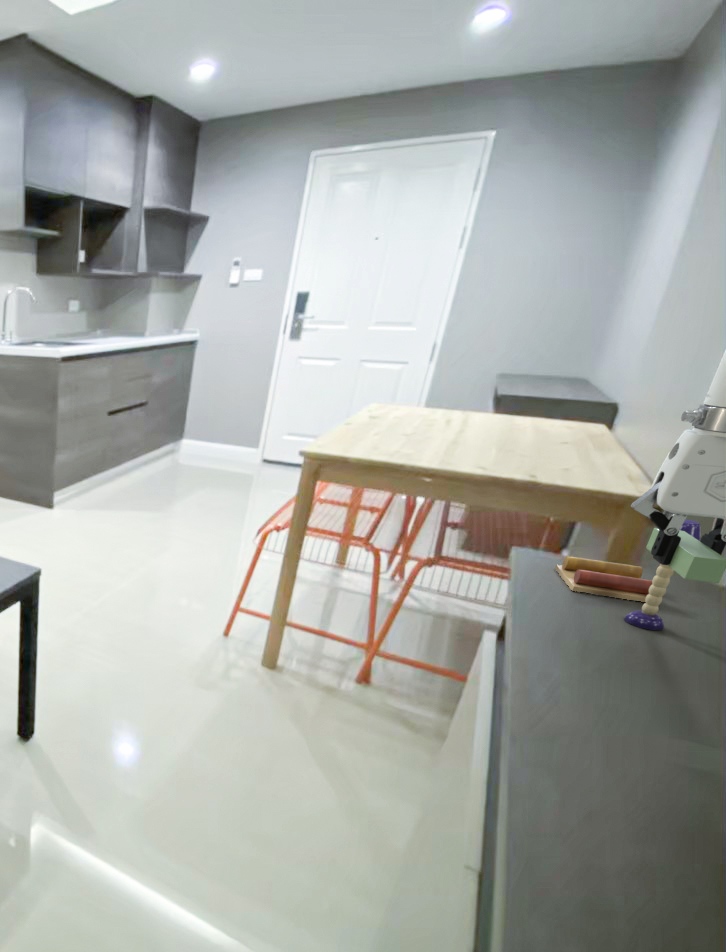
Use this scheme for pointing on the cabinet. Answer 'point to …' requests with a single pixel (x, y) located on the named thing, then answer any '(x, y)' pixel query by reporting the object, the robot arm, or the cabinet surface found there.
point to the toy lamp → (659, 589)
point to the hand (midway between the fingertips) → (680, 562)
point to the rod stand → (604, 578)
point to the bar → (694, 559)
